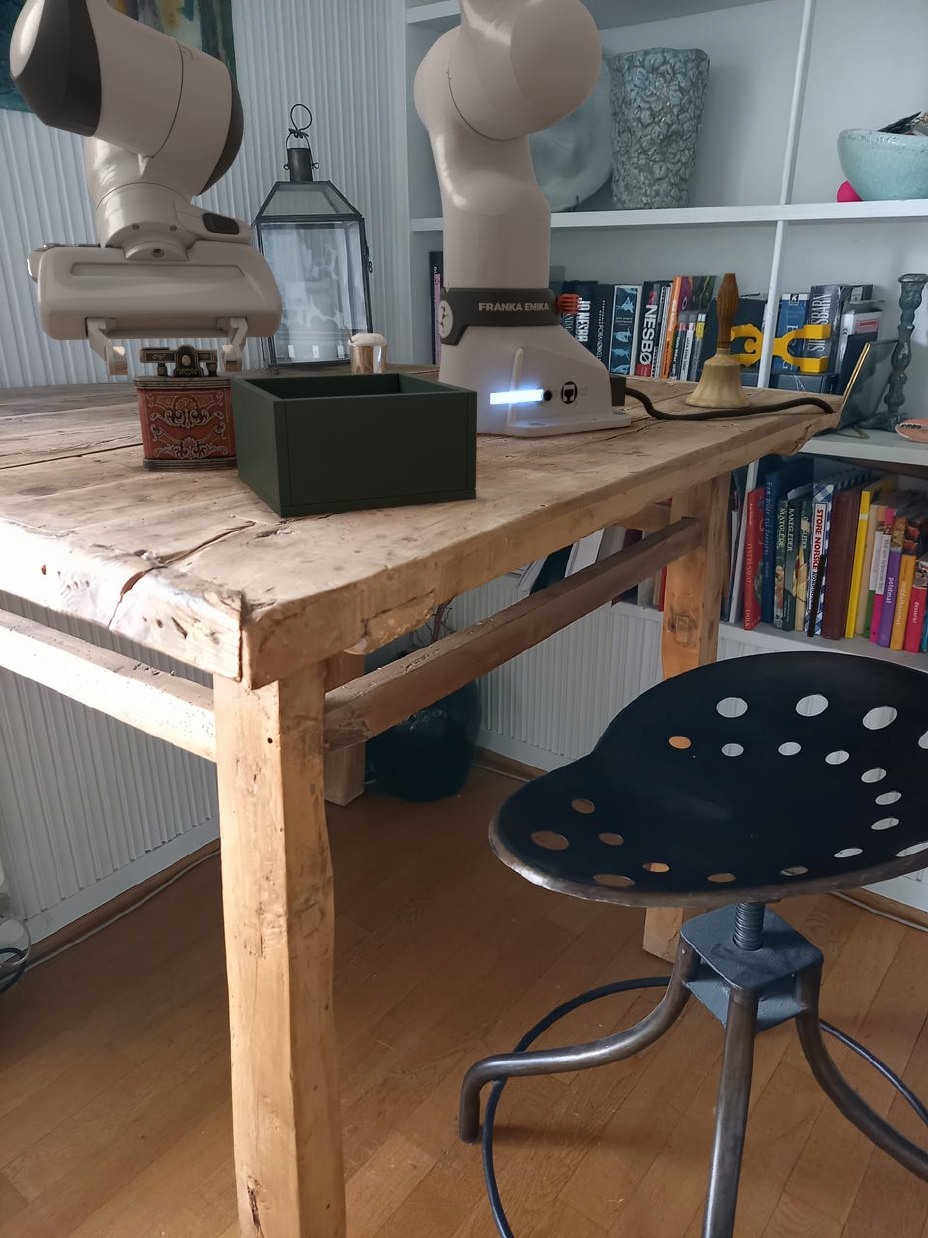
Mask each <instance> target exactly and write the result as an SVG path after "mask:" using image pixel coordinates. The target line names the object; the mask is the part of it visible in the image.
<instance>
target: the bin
mask: <svg viewBox="0 0 928 1238" xmlns="http://www.w3.org/2000/svg"><path fill="white" fill-rule="evenodd" d="M230 383H231V396H232V408H233V420H234V432H235V444H236V456H237V467H236V468H237V477H238V478H239V479H240V480H241V481H242V482H243V483H244V484H245V485H246V486H247V487H248V488H249V489H250V490H251V491H252V492H253V493H254V494H255V495H256V496H257V497H258V498H259V499H260V500H261V501H263V503H264V504H265V505H267V507H268V508H270V509H271V510H272V512H274V514H276V516H278V517H279V518H280V519H291V518H300V517H311V516H321V515H332V514H341V513H342V514H343V513H352V512H361V511H362V512H363V511H371V510H373V511H374V510H382V509H391V508H403V507H412V506H422V505H432V504H433V505H434V504H442V503H452V502H464V501H472V500H476V499H477V453H478V452H477V449H478V447H477V445H478V444H477V443H478V433H477V392H476V391H473V390H469V389H465V388H462V387H458V386H454V385H450V384H447V383H443V382H439V381H438V380H435V379H432V378H427V377H424V376H421V375H417V374H412V373H409V372H405V371H399V372H398V371H397V372H394V371H393V372H385V373H366V374H352V373H342V374H316V375H287V376H262V377H261V376H259V377H258V376H257V377H241V378H240V377H234V378H231V379H230Z"/></svg>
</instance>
